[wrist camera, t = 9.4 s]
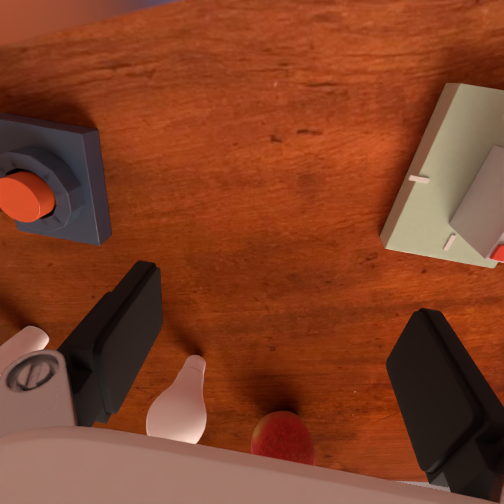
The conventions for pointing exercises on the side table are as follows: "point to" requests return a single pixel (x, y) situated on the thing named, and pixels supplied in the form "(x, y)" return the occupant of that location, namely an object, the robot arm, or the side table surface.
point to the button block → (59, 175)
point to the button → (25, 196)
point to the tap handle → (484, 209)
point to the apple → (283, 438)
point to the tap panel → (446, 174)
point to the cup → (22, 345)
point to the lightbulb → (180, 406)
